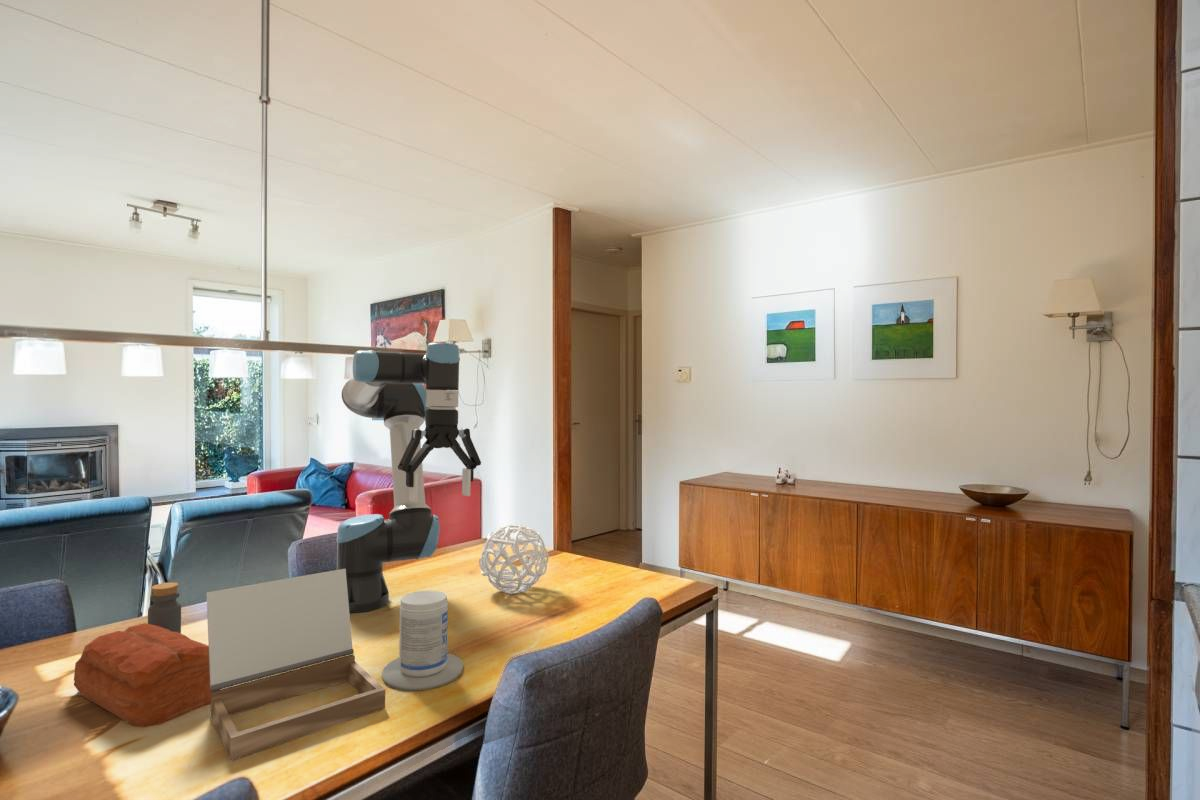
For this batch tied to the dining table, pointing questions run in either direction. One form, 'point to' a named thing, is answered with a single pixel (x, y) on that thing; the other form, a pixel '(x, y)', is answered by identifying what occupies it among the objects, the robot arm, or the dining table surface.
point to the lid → (277, 627)
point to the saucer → (409, 683)
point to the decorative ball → (513, 558)
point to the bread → (145, 674)
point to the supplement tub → (423, 633)
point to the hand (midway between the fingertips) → (440, 498)
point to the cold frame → (287, 687)
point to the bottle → (165, 607)
